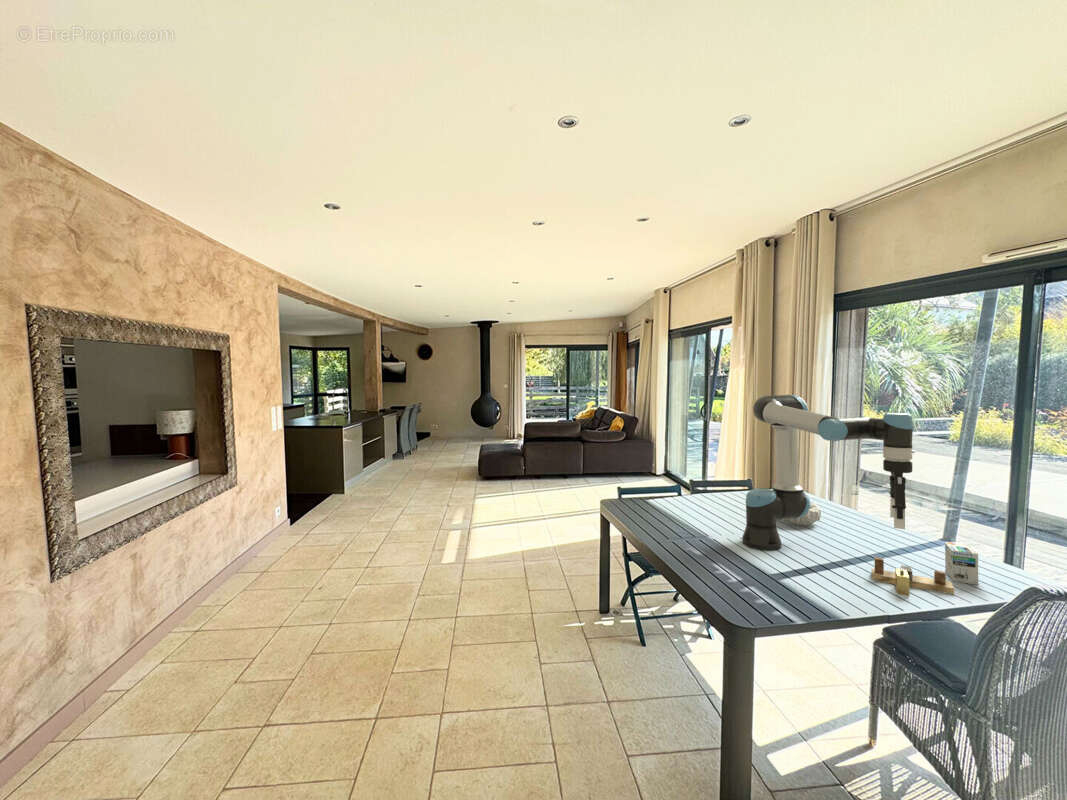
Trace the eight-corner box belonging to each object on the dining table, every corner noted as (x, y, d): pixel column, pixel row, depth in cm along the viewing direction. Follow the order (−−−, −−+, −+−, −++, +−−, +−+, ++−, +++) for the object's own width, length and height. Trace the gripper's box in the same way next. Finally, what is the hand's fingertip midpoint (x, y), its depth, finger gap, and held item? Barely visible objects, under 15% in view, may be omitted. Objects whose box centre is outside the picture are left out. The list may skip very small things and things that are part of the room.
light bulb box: (979, 585, 149) (979, 553, 149) (952, 581, 153) (952, 550, 152) (969, 574, 158) (969, 544, 158) (944, 570, 162) (944, 541, 161)
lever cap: (897, 593, 145) (897, 572, 145) (895, 585, 150) (895, 564, 150) (909, 596, 143) (909, 574, 143) (906, 587, 149) (906, 566, 149)
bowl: (832, 529, 210) (832, 508, 210) (789, 530, 210) (788, 509, 210) (806, 517, 231) (805, 498, 231) (766, 518, 231) (766, 499, 231)
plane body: (872, 579, 155) (872, 560, 155) (871, 573, 160) (871, 554, 160) (954, 594, 143) (954, 572, 143) (950, 587, 148) (950, 566, 148)
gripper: (917, 466, 135) (917, 535, 136) (907, 455, 155) (907, 515, 156) (886, 464, 139) (885, 531, 140) (880, 453, 160) (880, 512, 160)
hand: (897, 522), depth 148 cm, fingers open, 13 cm apart
